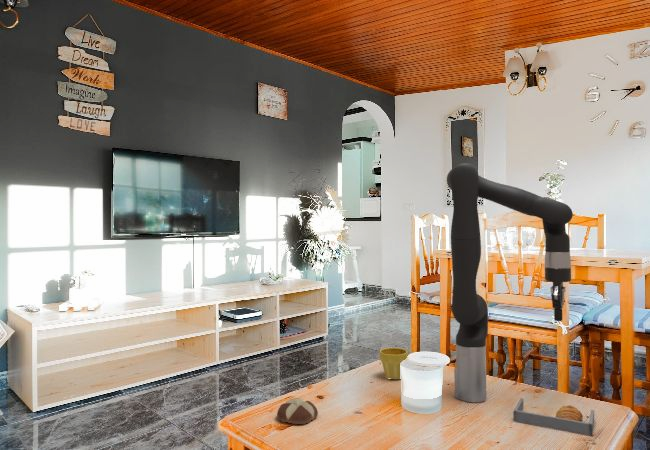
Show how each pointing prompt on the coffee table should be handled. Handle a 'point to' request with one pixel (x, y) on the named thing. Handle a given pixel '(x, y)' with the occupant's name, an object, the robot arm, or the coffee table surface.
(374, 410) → the coffee table surface
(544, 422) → the box
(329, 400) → the coffee table surface
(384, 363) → the plant pot
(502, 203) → the robot arm
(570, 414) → the pastry
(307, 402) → the bread
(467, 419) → the coffee table surface
